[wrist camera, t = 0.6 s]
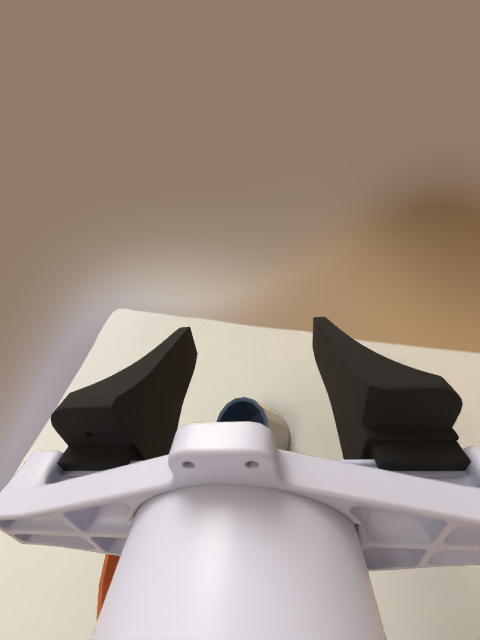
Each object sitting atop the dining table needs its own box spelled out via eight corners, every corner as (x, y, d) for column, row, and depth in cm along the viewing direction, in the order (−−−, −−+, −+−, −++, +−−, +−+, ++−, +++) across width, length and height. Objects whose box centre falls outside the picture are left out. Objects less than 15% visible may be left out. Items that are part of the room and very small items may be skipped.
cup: (293, 464, 26) (269, 461, 21) (244, 465, 28) (213, 463, 23) (287, 407, 29) (265, 393, 24) (243, 413, 31) (216, 401, 26)
